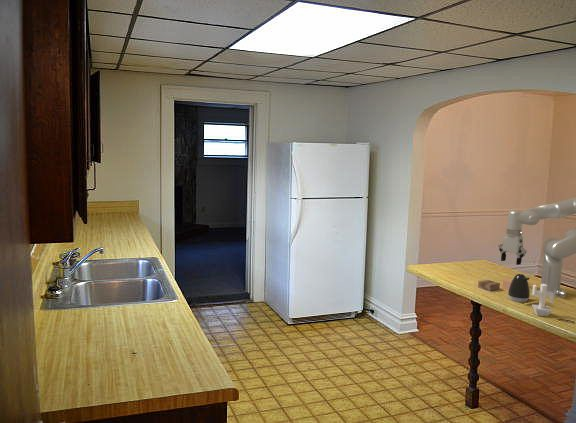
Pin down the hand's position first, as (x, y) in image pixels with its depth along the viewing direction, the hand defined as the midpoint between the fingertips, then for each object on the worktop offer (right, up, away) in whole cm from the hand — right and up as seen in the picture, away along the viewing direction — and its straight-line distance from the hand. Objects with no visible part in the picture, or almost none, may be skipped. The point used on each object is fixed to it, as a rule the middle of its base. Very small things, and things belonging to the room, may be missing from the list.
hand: (510, 262), depth 281 cm
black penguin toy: (-4, -19, -19) cm, 27 cm away
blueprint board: (-7, -16, +1) cm, 18 cm away
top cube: (0, -15, +2) cm, 15 cm away
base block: (-12, -15, +1) cm, 19 cm away
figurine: (-2, -22, -38) cm, 44 cm away
